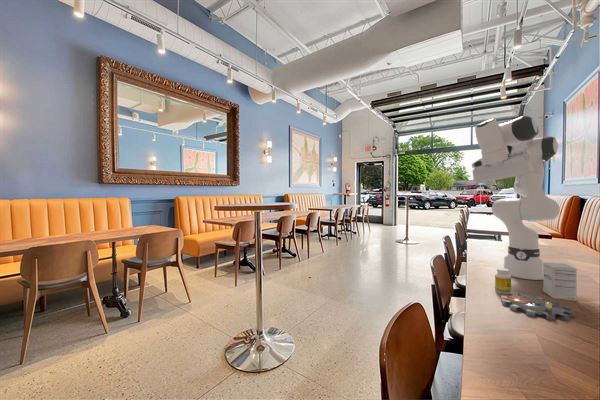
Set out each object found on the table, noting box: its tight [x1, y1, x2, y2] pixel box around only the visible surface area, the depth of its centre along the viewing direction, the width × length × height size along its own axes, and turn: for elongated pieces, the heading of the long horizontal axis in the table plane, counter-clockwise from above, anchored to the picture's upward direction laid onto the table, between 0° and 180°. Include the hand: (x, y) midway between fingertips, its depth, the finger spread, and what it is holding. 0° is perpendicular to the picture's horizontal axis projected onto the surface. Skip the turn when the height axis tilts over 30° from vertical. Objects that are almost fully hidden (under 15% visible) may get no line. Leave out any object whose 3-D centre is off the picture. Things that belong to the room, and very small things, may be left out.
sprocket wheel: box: [500, 293, 574, 322], centre depth 91 cm, size 19×19×4 cm
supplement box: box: [542, 261, 578, 302], centre depth 101 cm, size 7×7×13 cm
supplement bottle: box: [494, 267, 512, 295], centre depth 107 cm, size 5×5×10 cm
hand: (506, 188), depth 107 cm, fingers open, 8 cm apart
